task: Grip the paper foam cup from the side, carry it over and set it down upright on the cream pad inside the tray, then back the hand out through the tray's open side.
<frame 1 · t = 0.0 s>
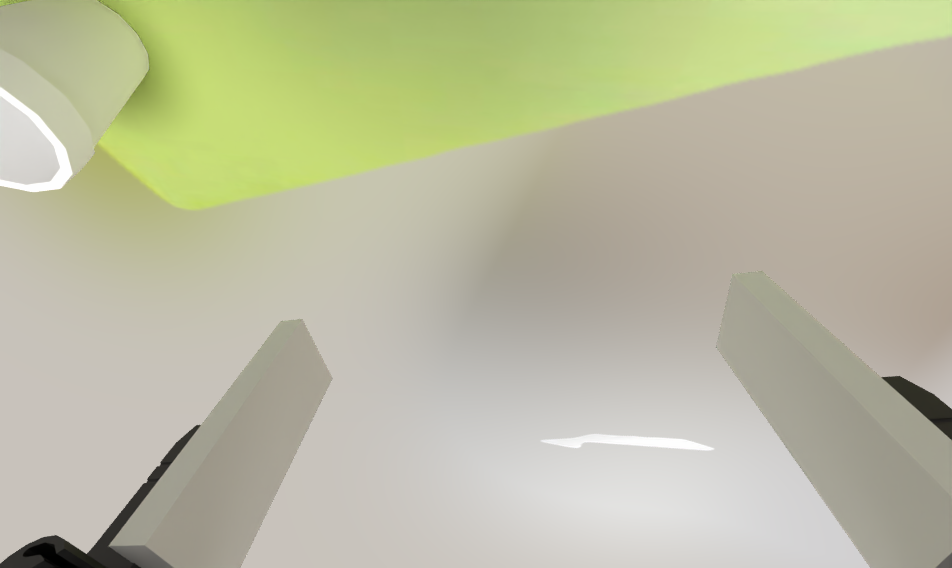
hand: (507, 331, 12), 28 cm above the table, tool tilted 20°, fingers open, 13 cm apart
foam cup: (103, 39, 31), on the table
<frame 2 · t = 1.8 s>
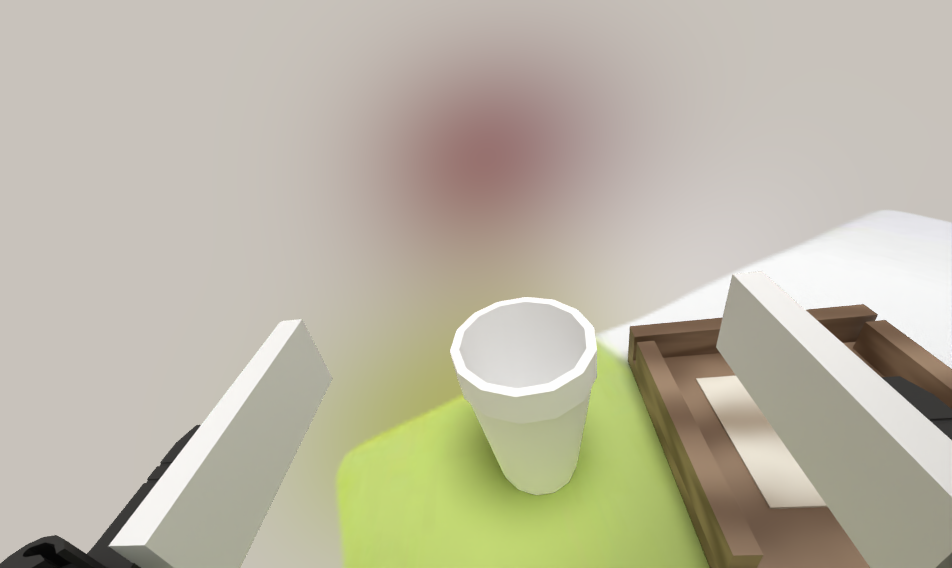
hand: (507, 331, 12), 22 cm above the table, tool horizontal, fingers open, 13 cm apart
foam cup: (537, 458, 32), on the table
tray: (800, 442, 29), on the table
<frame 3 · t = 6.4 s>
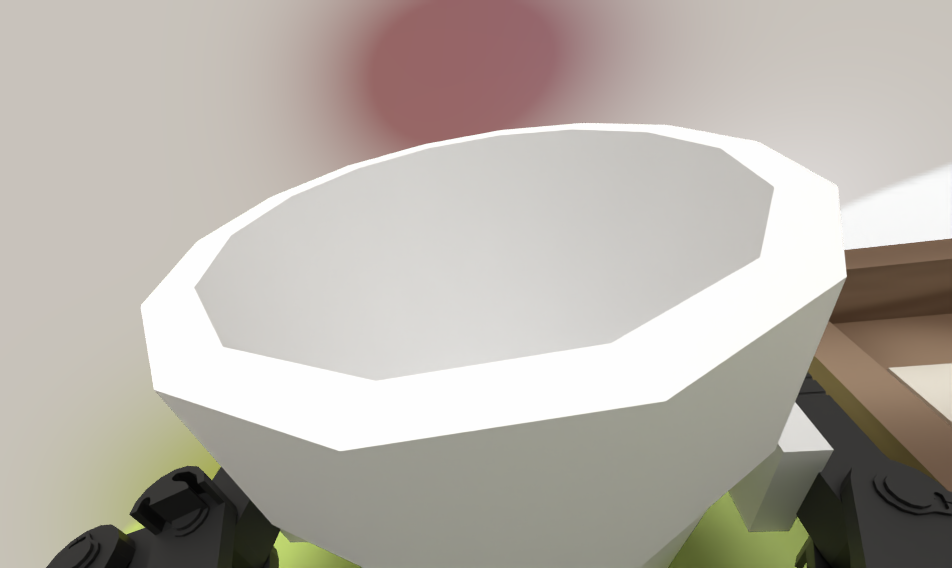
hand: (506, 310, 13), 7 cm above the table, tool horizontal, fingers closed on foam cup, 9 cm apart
foam cup: (533, 556, 13), on the table, touching gripper
when the fingers open (10 cm above the table, at t = 12.0 s): foam cup drops 1 cm, resting on tray.
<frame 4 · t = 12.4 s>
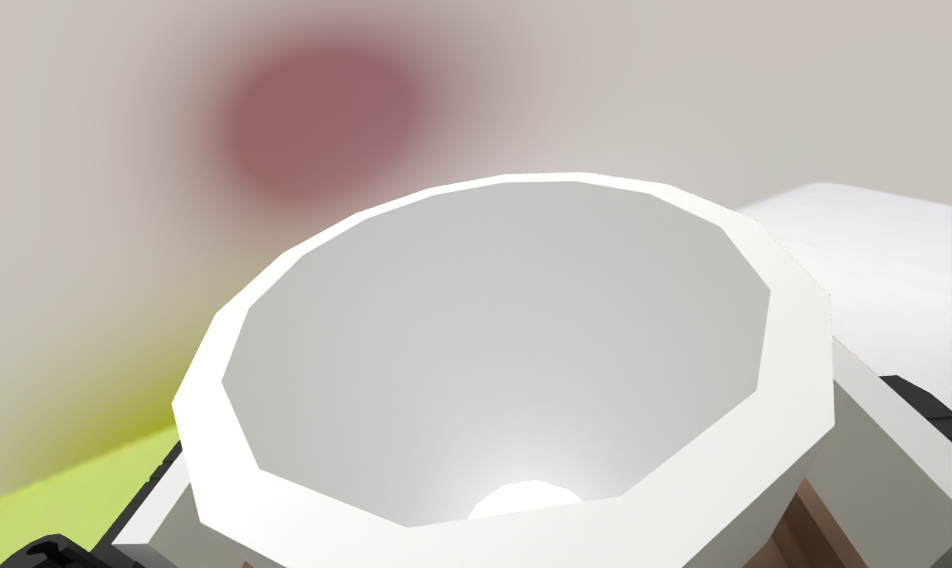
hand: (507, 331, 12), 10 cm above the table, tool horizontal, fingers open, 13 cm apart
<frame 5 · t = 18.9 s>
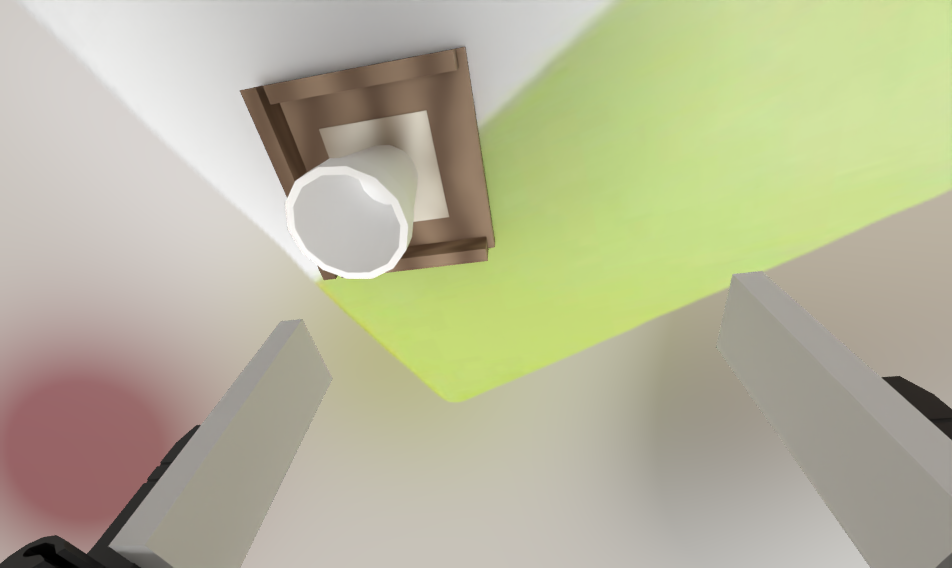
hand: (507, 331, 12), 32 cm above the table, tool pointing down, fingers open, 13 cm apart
foam cup: (388, 175, 40), point 2 cm above the table, touching tray
tray: (391, 170, 42), on the table
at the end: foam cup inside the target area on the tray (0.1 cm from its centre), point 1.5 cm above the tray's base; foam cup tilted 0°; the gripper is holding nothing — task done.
